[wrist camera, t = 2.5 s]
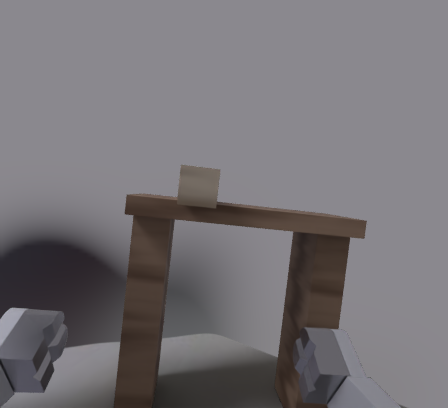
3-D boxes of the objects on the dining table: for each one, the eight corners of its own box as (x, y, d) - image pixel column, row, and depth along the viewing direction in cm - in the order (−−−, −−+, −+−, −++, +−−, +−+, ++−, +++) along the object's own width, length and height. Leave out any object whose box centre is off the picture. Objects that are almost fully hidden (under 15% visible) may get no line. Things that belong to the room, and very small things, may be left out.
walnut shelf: (337, 446, 33) (366, 220, 32) (101, 442, 30) (126, 194, 29) (303, 387, 43) (325, 213, 42) (124, 380, 40) (143, 193, 39)
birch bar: (216, 208, 22) (220, 169, 22) (176, 204, 22) (181, 164, 22) (205, 200, 42) (207, 179, 42) (184, 197, 42) (187, 177, 42)
